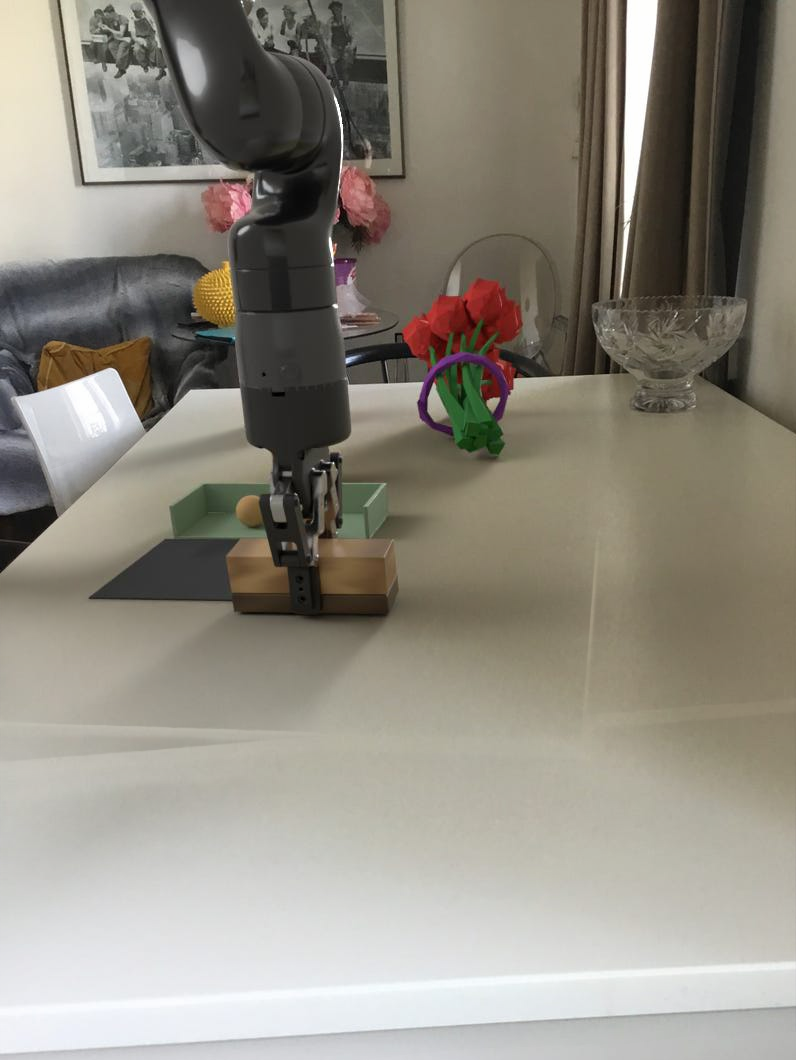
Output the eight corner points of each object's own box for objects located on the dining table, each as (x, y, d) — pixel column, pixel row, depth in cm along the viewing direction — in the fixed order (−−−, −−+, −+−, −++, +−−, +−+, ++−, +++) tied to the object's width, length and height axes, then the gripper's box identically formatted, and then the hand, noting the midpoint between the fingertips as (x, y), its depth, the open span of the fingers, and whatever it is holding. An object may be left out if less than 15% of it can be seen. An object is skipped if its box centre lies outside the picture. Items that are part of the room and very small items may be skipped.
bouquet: (419, 511, 127) (405, 412, 152) (554, 503, 129) (518, 406, 153) (412, 353, 116) (398, 273, 140) (560, 345, 117) (520, 268, 142)
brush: (233, 612, 80) (224, 557, 78) (250, 589, 83) (241, 537, 81) (388, 614, 78) (383, 558, 76) (398, 591, 82) (394, 537, 80)
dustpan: (369, 541, 96) (367, 506, 95) (174, 539, 99) (168, 505, 97) (403, 494, 111) (401, 463, 110) (232, 494, 114) (228, 463, 112)
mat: (89, 600, 84) (88, 597, 84) (165, 541, 98) (165, 538, 98) (332, 604, 82) (331, 601, 82) (375, 543, 96) (375, 540, 96)
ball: (233, 530, 100) (231, 499, 98) (241, 520, 102) (239, 490, 101) (265, 531, 100) (263, 501, 98) (272, 521, 102) (270, 491, 101)
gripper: (272, 359, 81) (295, 570, 88) (205, 392, 68) (238, 637, 75) (367, 358, 80) (383, 571, 87) (318, 391, 67) (341, 639, 74)
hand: (315, 600), depth 81 cm, fingers closed on brush, 4 cm apart
